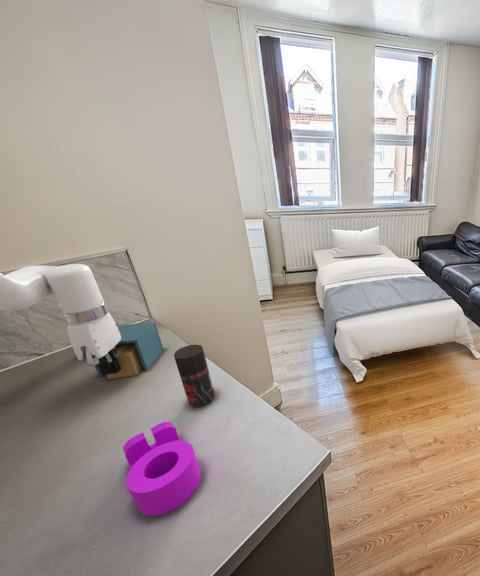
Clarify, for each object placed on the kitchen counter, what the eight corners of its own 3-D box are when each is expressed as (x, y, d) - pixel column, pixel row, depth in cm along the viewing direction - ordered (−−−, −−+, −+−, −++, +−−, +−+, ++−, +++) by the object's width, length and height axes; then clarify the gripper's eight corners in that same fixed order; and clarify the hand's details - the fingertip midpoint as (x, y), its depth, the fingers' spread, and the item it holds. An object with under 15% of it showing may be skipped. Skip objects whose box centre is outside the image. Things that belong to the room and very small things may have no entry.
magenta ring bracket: (208, 485, 55) (201, 462, 52) (144, 529, 48) (132, 506, 46) (182, 436, 65) (174, 416, 62) (125, 467, 58) (115, 445, 55)
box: (137, 375, 83) (129, 354, 81) (107, 379, 81) (98, 358, 79) (147, 360, 90) (141, 341, 87) (121, 364, 88) (113, 344, 85)
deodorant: (218, 398, 75) (206, 351, 70) (192, 411, 71) (177, 362, 66) (210, 387, 79) (198, 341, 73) (185, 399, 75) (170, 351, 69)
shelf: (147, 370, 85) (136, 340, 81) (99, 376, 83) (85, 345, 79) (163, 349, 95) (154, 321, 91) (120, 354, 92) (109, 325, 88)
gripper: (89, 302, 78) (114, 357, 85) (43, 330, 64) (77, 393, 71) (122, 299, 79) (143, 354, 86) (83, 326, 66) (112, 388, 73)
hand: (113, 371), depth 79 cm, fingers closed
